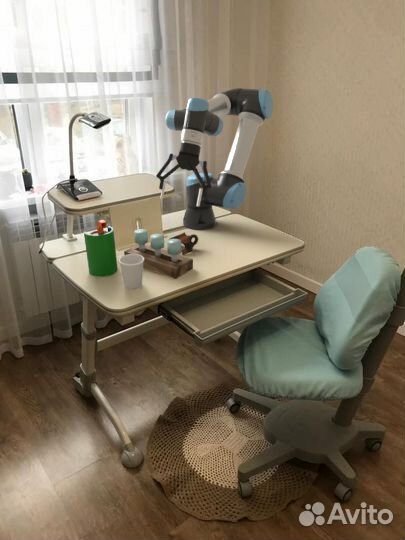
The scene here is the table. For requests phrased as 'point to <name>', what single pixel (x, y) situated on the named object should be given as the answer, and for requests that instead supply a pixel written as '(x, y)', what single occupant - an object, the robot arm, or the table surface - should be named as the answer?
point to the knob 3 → (174, 249)
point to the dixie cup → (132, 270)
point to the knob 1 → (141, 238)
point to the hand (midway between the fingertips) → (179, 202)
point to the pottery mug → (186, 242)
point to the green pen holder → (101, 251)
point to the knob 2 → (157, 243)
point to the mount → (163, 262)
